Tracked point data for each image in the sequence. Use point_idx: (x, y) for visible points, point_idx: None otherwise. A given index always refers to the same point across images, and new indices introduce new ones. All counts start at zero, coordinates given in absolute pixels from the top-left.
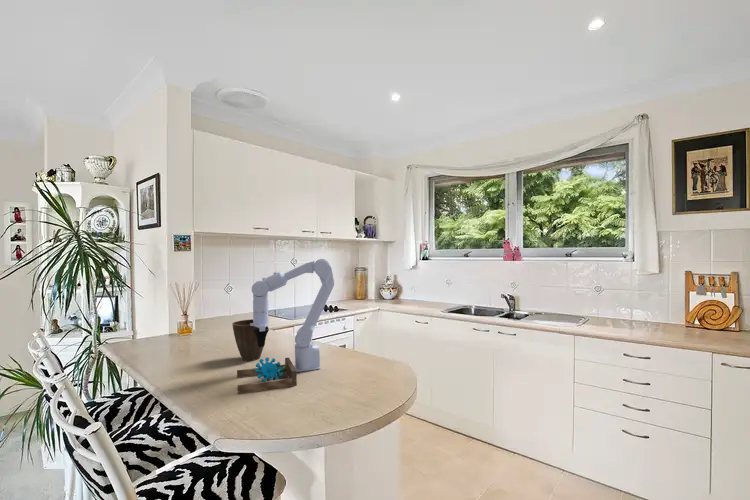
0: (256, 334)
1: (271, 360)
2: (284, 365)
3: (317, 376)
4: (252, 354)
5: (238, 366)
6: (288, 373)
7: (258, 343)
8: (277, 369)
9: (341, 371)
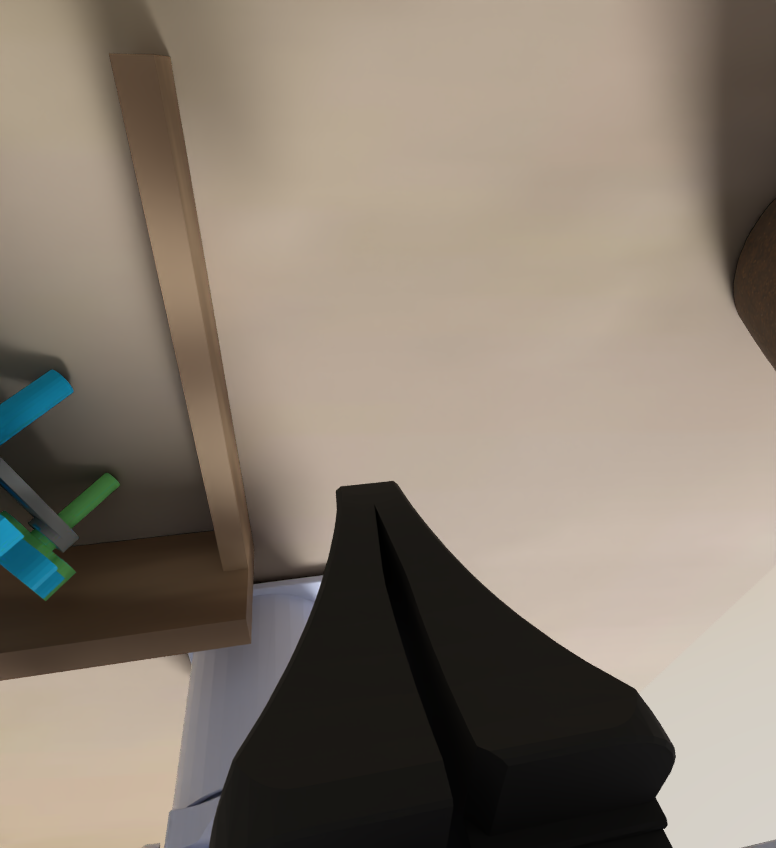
0: (274, 705)
1: (29, 551)
2: (223, 563)
3: (45, 695)
4: (768, 286)
5: (625, 92)
6: (13, 582)
7: (336, 532)
8: (50, 527)
9: (130, 779)
